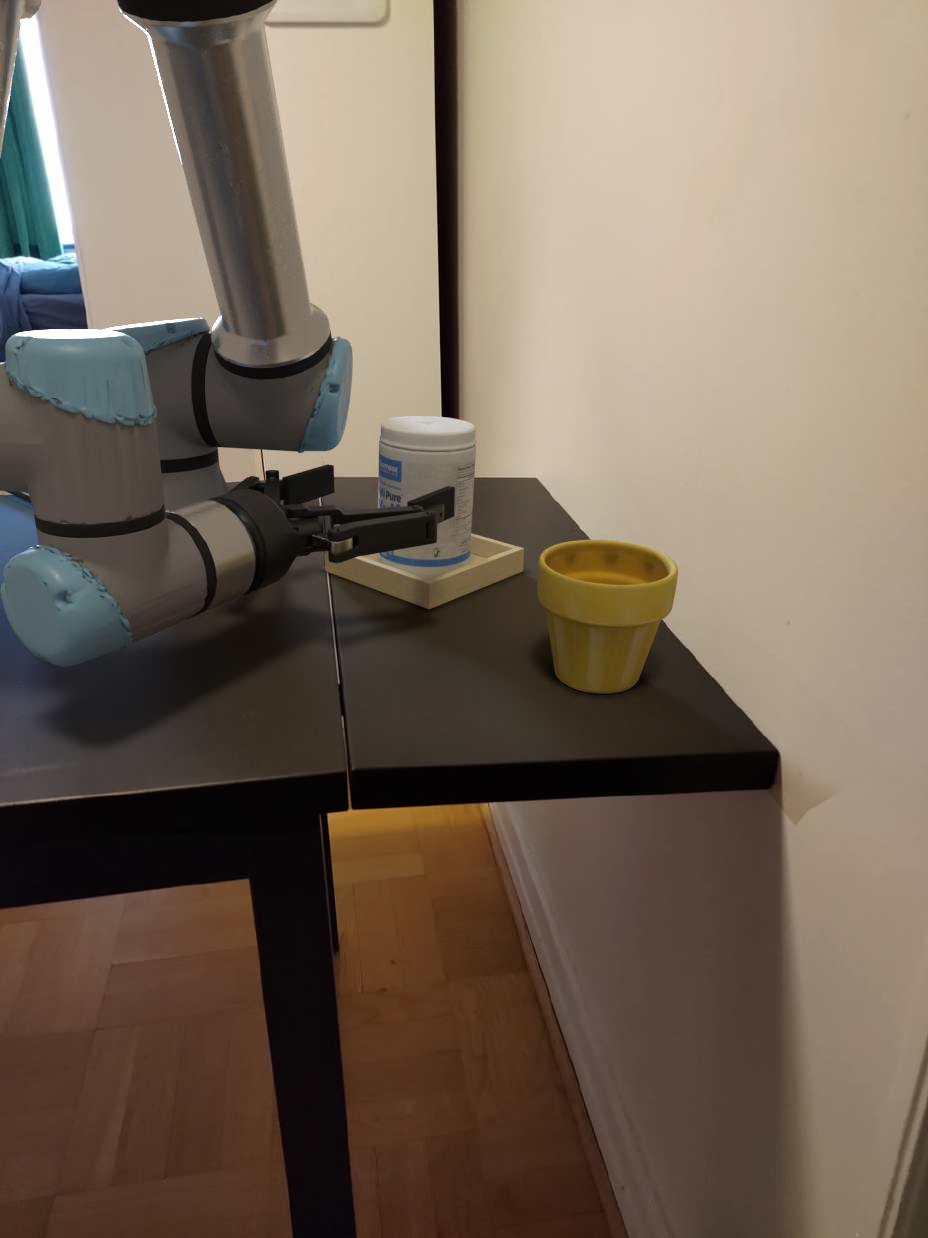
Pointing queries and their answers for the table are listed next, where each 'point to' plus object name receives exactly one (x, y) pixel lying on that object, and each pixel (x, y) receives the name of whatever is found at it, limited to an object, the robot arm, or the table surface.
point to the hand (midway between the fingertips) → (389, 489)
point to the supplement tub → (429, 486)
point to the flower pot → (603, 609)
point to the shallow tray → (484, 569)
